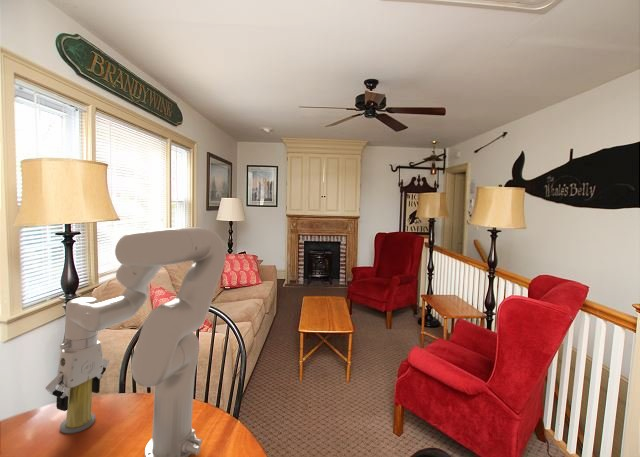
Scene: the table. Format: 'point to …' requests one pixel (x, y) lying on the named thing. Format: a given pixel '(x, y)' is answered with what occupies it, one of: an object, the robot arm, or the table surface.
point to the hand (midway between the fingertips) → (79, 400)
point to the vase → (79, 405)
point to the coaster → (77, 429)
